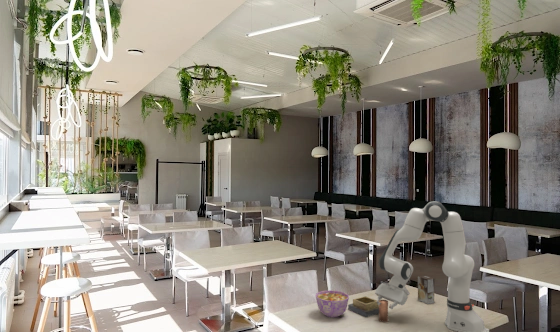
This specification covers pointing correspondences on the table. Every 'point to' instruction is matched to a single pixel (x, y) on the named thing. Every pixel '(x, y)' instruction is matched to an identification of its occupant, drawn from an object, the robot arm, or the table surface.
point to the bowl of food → (332, 302)
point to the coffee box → (426, 289)
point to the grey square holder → (364, 306)
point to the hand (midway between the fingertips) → (384, 305)
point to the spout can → (383, 310)
